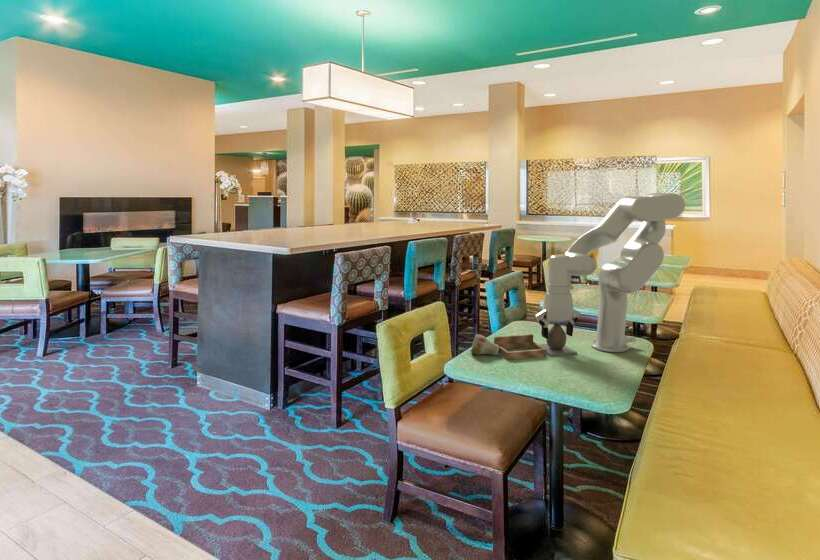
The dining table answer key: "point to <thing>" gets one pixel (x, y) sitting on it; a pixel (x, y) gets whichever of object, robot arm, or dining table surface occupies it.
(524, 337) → the wooden frame
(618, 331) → the robot arm
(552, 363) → the dining table surface
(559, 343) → the vase
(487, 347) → the mug
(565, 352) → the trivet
